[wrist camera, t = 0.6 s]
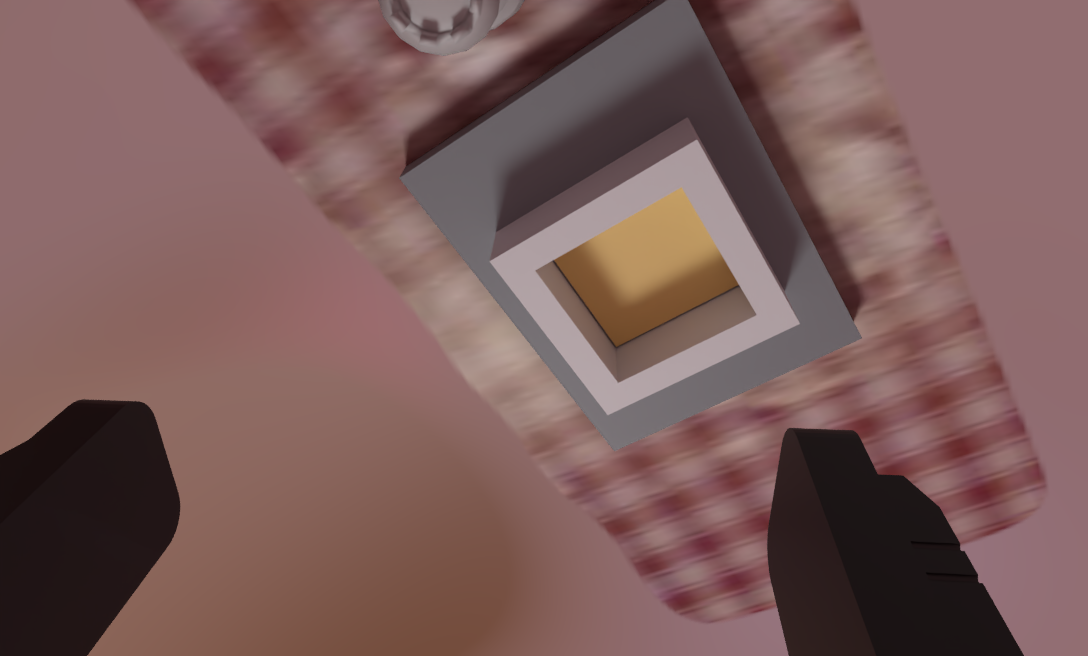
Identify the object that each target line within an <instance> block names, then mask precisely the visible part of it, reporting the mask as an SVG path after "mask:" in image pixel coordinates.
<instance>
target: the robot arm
mask: <svg viewBox="0 0 1088 656" xmlns="http://www.w3.org/2000/svg"><path fill="white" fill-rule="evenodd" d="M179 515H180V499H179V494H178V491H177V487H176V484H175V481H174V477H173V474H172V471H171V468H170V464H169V461H168V458H167V455H166V451H165V448H164V445H163V442H162V438H161V435H160V432H159V429H158V425H157V422H156V419H155V416H154V414H153V412H152V410H151V409H150V408H149V407H148V406H147V405H146V404H145V403H142V402H136V401H134V402H133V401H110V400H78V401H76V402H74V403H72V404H71V405H69V406H68V407H67V408H66V409H64V410H63V411H62V412H61V413H60V414H59V415H57V416H56V417H55V418H54V419H53V420H52V421H50V422H49V423H48V424H47V425H46V426H44V427H43V428H42V429H41V430H40V431H39V432H37V433H36V434H35V435H34V436H33V437H32V438H30V439H29V440H27V441H26V442H24V443H22V444H20V445H18V446H16V447H15V448H13V449H11V450H9V451H7V452H5V453H3V454H2V455H0V656H87V655H88V654H89V652H90V651H91V650H92V648H93V647H94V646H95V644H96V643H97V642H98V640H99V639H100V638H101V636H102V635H103V633H104V632H105V631H106V629H107V628H108V627H109V625H110V624H111V623H112V621H113V620H114V619H115V617H116V616H117V615H118V613H119V612H120V610H121V609H122V608H123V606H124V605H125V604H126V602H127V601H128V600H129V598H130V597H131V596H132V594H133V593H134V592H135V590H136V589H137V588H138V586H139V585H140V583H141V582H142V581H143V579H144V578H145V577H146V575H147V574H148V572H149V571H150V570H151V568H152V567H153V566H154V565H155V563H156V562H157V561H158V559H159V558H160V556H161V555H162V554H163V552H164V551H165V550H166V548H167V547H168V545H169V544H170V542H171V541H172V538H173V537H174V534H175V532H176V529H177V525H178V521H179ZM767 550H768V565H769V573H770V579H771V583H772V587H773V592H774V596H775V600H776V604H777V608H778V612H779V616H780V621H781V625H782V629H783V633H784V637H785V641H786V645H787V650H788V654H789V656H1024V655H1023V653H1022V651H1021V650H1020V648H1019V646H1018V644H1017V643H1016V641H1015V639H1014V638H1013V636H1012V634H1011V632H1010V631H1009V629H1008V627H1007V625H1006V623H1005V622H1004V620H1003V618H1002V616H1001V615H1000V613H999V611H998V609H997V608H996V606H995V604H994V602H993V600H992V599H991V597H990V595H989V594H988V592H987V590H986V588H985V586H984V585H983V584H982V583H979V582H978V574H977V572H976V571H975V569H974V567H973V565H972V564H971V562H970V560H969V558H968V557H967V555H966V553H965V551H961V550H960V542H959V541H958V539H957V537H956V535H955V534H954V532H953V530H952V528H951V527H950V525H949V523H948V521H947V520H946V518H945V516H944V514H943V513H942V511H941V509H940V507H939V506H938V505H936V504H935V503H934V502H933V501H932V500H931V499H929V498H928V497H927V496H926V495H925V494H924V493H923V492H921V491H920V490H919V489H918V488H917V487H916V486H914V485H913V484H912V483H911V482H910V481H909V480H908V479H906V478H905V477H904V476H899V475H878V474H877V472H876V470H875V468H874V466H873V464H872V462H871V460H870V458H869V456H868V453H867V451H866V449H865V447H864V445H863V443H862V441H861V439H860V437H859V436H858V434H857V433H856V432H855V431H853V430H827V429H801V428H789V429H787V431H786V432H785V435H784V438H783V442H782V447H781V453H780V459H779V465H778V471H777V477H776V483H775V489H774V496H773V502H772V508H771V514H770V520H769V527H768V540H767Z"/></svg>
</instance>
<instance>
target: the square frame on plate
mask: <svg viewBox="0 0 1088 656" xmlns="http://www.w3.org/2000/svg"><path fill="white" fill-rule="evenodd" d="M400 180H401V181H402V182H403V183H404V185H405V186H406V187H407V188H408V190H409V191H410V192H411V194H412V195H413V196H414V197H415V199H416V200H417V201H418V202H419V204H420V205H421V206H422V208H423V209H424V210H425V211H426V213H427V214H428V215H429V216H430V218H431V219H432V220H433V221H434V223H435V224H436V225H437V227H438V228H439V229H440V230H441V232H442V233H443V234H444V235H445V237H446V238H447V239H448V241H449V242H450V243H451V244H452V246H453V247H454V248H455V249H456V251H457V252H458V253H459V255H460V256H461V257H462V258H463V260H464V261H465V262H466V263H467V265H468V266H469V267H470V269H471V270H472V271H473V272H474V274H475V275H476V276H477V277H478V279H479V280H480V281H481V282H482V284H483V285H484V286H485V288H486V289H487V290H488V291H489V293H490V294H491V295H492V296H493V298H494V299H495V300H496V302H497V303H498V304H499V305H500V307H501V308H502V309H503V310H504V312H505V313H506V314H507V316H508V317H509V318H510V319H511V321H512V322H513V323H514V324H515V326H516V327H517V328H518V329H519V331H520V332H521V333H522V335H523V336H524V337H525V338H526V340H527V341H528V342H529V343H530V345H531V346H532V347H533V349H534V350H535V351H536V352H537V354H538V355H539V356H540V357H541V359H542V360H543V361H544V363H545V364H546V365H547V366H548V368H549V369H550V370H551V371H552V373H553V374H554V375H555V377H556V378H557V379H558V380H559V382H560V383H561V384H562V385H563V387H564V388H565V389H566V390H567V392H568V393H569V394H570V396H571V397H572V398H573V399H574V401H575V402H576V403H577V404H578V406H579V407H580V408H581V410H582V411H583V412H584V413H585V415H586V416H587V417H588V418H589V420H590V421H591V422H592V424H593V425H594V426H595V427H596V429H597V430H598V431H599V432H600V434H601V435H602V436H603V438H604V439H605V440H606V441H607V443H608V444H609V445H610V446H611V448H612V449H613V450H614V451H616V450H618V449H620V448H623V447H625V446H627V445H629V444H631V443H634V442H636V441H638V440H640V439H642V438H645V437H647V436H649V435H651V434H653V433H656V432H658V431H660V430H662V429H664V428H666V427H669V426H671V425H673V424H675V423H677V422H680V421H682V420H684V419H686V418H688V417H691V416H693V415H695V414H697V413H699V412H702V411H704V410H706V409H708V408H710V407H712V406H715V405H717V404H719V403H721V402H723V401H726V400H728V399H730V398H732V397H734V396H737V395H739V394H741V393H743V392H745V391H748V390H750V389H752V388H754V387H756V386H758V385H761V384H763V383H765V382H767V381H769V380H772V379H774V378H776V377H778V376H780V375H783V374H785V373H787V372H789V371H791V370H794V369H796V368H798V367H800V366H802V365H804V364H807V363H809V362H811V361H813V360H815V359H818V358H820V357H822V356H824V355H826V354H829V353H831V352H833V351H835V350H837V349H840V348H842V347H844V346H846V345H848V344H850V343H853V342H855V341H857V340H859V339H861V338H862V337H861V335H860V333H859V331H858V329H857V327H856V325H855V324H854V322H853V320H852V318H851V316H850V314H849V312H848V310H847V308H846V306H845V304H844V302H843V300H842V298H841V296H840V294H839V292H838V291H837V289H836V287H835V285H834V283H833V281H832V279H831V277H830V275H829V273H828V271H827V269H826V267H825V265H824V263H823V261H822V259H821V258H820V256H819V254H818V252H817V250H816V248H815V246H814V244H813V242H812V240H811V238H810V236H809V234H808V232H807V230H806V228H805V226H804V225H803V223H802V221H801V219H800V217H799V215H798V213H797V211H796V209H795V207H794V205H793V203H792V201H791V199H790V197H789V195H788V193H787V192H786V190H785V188H784V186H783V184H782V182H781V180H780V178H779V176H778V174H777V172H776V170H775V168H774V166H773V164H772V162H771V160H770V159H769V157H768V155H767V153H766V151H765V149H764V147H763V145H762V143H761V141H760V139H759V137H758V135H757V133H756V131H755V129H754V127H753V126H752V124H751V122H750V120H749V118H748V116H747V114H746V112H745V110H744V108H743V106H742V104H741V102H740V100H739V98H738V96H737V94H736V93H735V91H734V89H733V87H732V85H731V83H730V81H729V79H728V77H727V75H726V73H725V71H724V69H723V67H722V65H721V63H720V61H719V60H718V58H717V56H716V54H715V52H714V50H713V48H712V46H711V44H710V42H709V40H708V38H707V36H706V34H705V32H704V30H703V28H702V27H701V25H700V23H699V21H698V19H697V17H696V15H695V13H694V11H693V9H692V7H691V5H690V3H689V1H688V0H655V1H653V2H652V3H650V4H649V5H647V6H646V7H644V8H643V9H641V10H640V11H638V12H637V13H635V14H634V15H632V16H631V17H629V18H628V19H626V20H625V21H623V22H622V23H620V24H619V25H617V26H616V27H614V28H613V29H611V30H610V31H608V32H607V33H605V34H604V35H602V36H601V37H599V38H598V39H596V40H595V41H593V42H592V43H590V44H589V45H587V46H586V47H584V48H583V49H581V50H580V51H578V52H577V53H575V54H574V55H572V56H571V57H569V58H568V59H566V60H565V61H563V62H562V63H560V64H559V65H557V66H556V67H554V68H553V69H551V70H550V71H548V72H547V73H545V74H544V75H542V76H541V77H539V78H538V79H536V80H535V81H533V82H532V83H530V84H529V85H527V86H526V87H524V88H523V89H521V90H520V91H518V92H517V93H515V94H514V95H512V96H511V97H509V98H508V99H506V100H505V101H503V102H502V103H500V104H499V105H497V106H496V107H494V108H493V109H491V110H490V111H488V112H487V113H485V114H484V115H482V116H481V117H479V118H478V119H476V120H475V121H474V122H472V123H471V124H469V125H468V126H466V127H465V128H463V129H462V130H460V131H459V132H457V133H456V134H454V135H453V136H451V137H450V138H448V139H447V140H445V141H444V142H442V143H441V144H439V145H438V146H436V147H435V148H433V149H432V150H430V151H429V152H427V153H426V154H424V155H423V156H421V157H420V158H418V159H417V160H415V161H414V162H412V163H411V164H409V165H408V166H406V167H405V169H404V170H403V172H402V174H401V176H400Z"/></svg>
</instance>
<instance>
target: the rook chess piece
mask: <svg viewBox="0 0 1088 656" xmlns="http://www.w3.org/2000/svg"><path fill="white" fill-rule="evenodd" d="M378 1H379V4H380V7H381V10H382V14H383V17H384V18H385V19H386V21H387V22H388V23H389V25H390V26H391V27H392V29H393V30H394V31H395V33H396V34H397V35H398V37H399V38H400V39H402V40H404V41H405V42H407V43H408V44H410V45H411V46H413V47H414V48H416V49H418V50H419V51H421V52H426V53H431V54H437V55H442V56H446V55H450V54H455V53H459V52H464V51H467V50H469V49H470V48H471V47H473V46H474V45H475V44H477V43H478V42H479V41H481V40H482V39H483V38H485V37H486V35H487V33H488V32H489V30H492V29H495V28H497V27H498V26H499V25H501V24H502V23H503V22H505V21H506V20H507V19H509V18H510V17H511V16H513V15H514V14H515V13H516V12H517V11H518V10H519V9H520V7H521V5H522V3H523V2H524V0H378Z"/></svg>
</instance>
